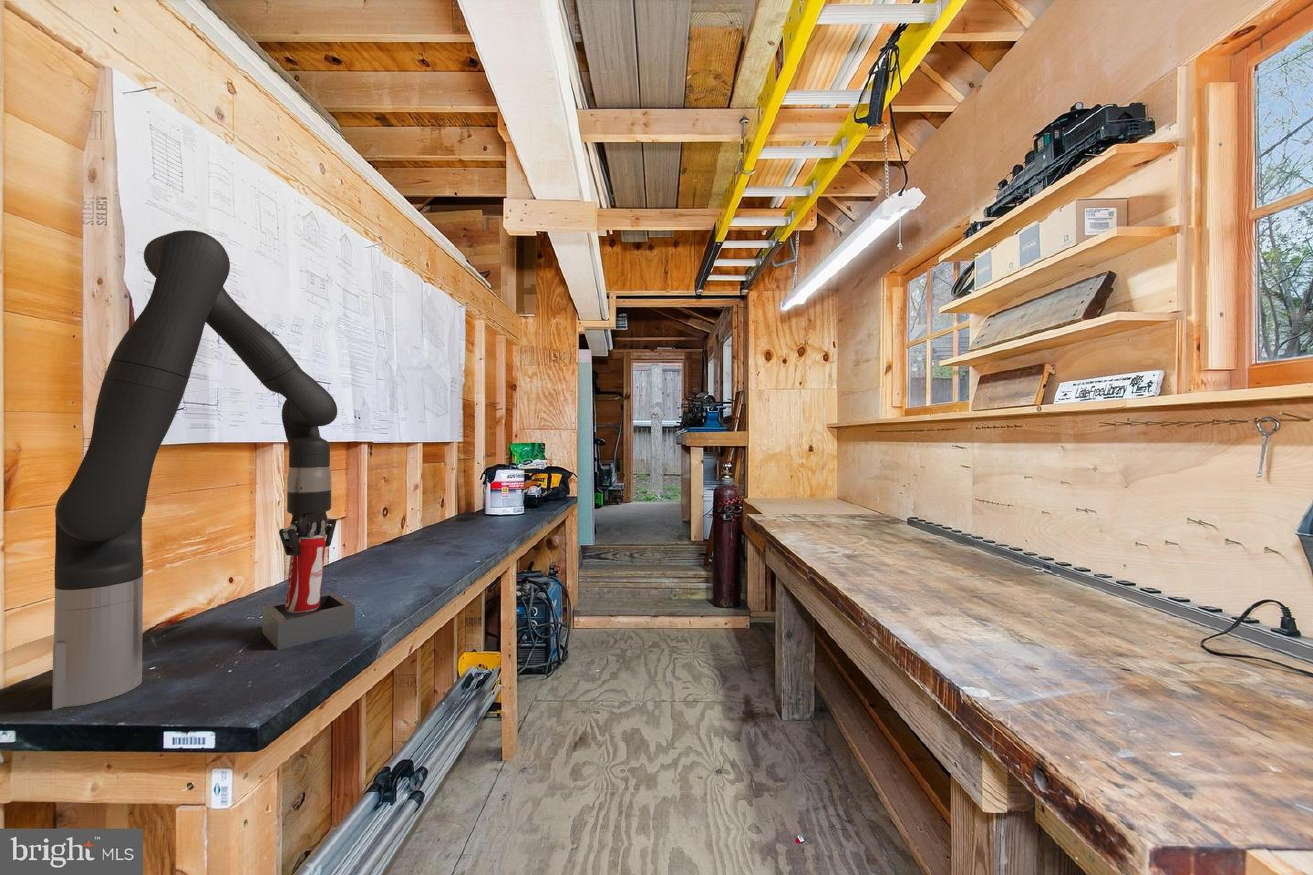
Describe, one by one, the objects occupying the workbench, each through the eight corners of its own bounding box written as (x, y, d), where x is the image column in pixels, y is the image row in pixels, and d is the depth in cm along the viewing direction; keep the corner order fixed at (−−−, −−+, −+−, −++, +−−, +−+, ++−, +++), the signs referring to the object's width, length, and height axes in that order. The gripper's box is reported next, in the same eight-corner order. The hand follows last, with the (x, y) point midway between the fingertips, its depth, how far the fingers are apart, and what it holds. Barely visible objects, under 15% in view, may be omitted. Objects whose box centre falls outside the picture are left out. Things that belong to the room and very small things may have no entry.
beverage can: (281, 609, 101) (283, 535, 102) (319, 602, 106) (320, 531, 107) (289, 616, 98) (290, 539, 98) (328, 608, 102) (329, 535, 103)
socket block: (277, 653, 94) (278, 621, 94) (262, 635, 103) (262, 606, 103) (354, 633, 104) (354, 605, 104) (334, 618, 113) (334, 592, 113)
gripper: (302, 492, 96) (301, 582, 96) (349, 485, 111) (348, 563, 111) (264, 492, 97) (263, 581, 97) (316, 485, 111) (315, 563, 111)
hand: (309, 571), depth 104 cm, fingers closed on beverage can, 3 cm apart
